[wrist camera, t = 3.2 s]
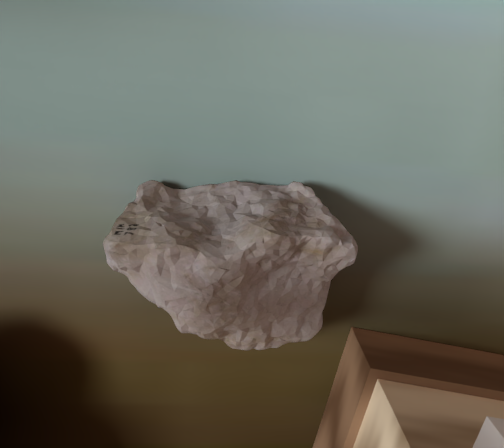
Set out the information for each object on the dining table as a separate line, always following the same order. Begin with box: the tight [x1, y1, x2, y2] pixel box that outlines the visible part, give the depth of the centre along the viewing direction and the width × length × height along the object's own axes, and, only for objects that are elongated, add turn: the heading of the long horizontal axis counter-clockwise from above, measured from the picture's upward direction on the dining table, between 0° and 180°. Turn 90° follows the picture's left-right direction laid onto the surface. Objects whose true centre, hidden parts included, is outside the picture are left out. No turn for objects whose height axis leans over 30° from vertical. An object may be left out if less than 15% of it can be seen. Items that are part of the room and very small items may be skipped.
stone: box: [103, 180, 358, 350], centre depth 18 cm, size 8×10×6 cm
